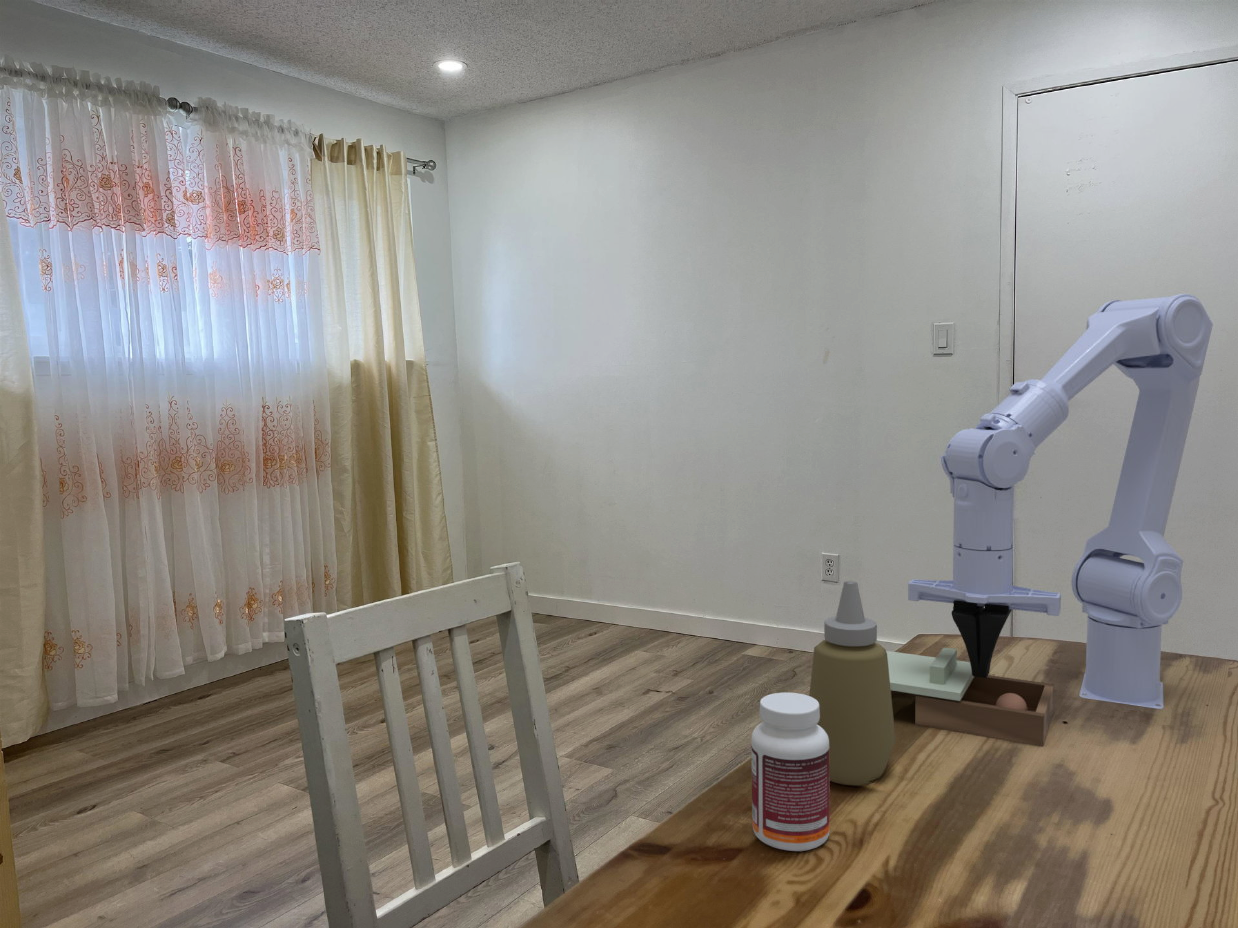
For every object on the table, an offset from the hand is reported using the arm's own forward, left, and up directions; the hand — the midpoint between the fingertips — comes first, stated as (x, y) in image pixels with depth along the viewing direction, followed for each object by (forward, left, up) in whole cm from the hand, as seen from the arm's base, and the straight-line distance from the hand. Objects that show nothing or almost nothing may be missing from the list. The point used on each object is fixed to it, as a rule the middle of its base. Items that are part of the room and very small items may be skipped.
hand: (980, 674), depth 95 cm
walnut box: (0, 0, -5) cm, 5 cm away
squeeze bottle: (+18, -9, -5) cm, 21 cm away
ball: (0, +3, -5) cm, 5 cm away
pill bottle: (+31, -10, -5) cm, 33 cm away
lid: (0, -7, -1) cm, 7 cm away
